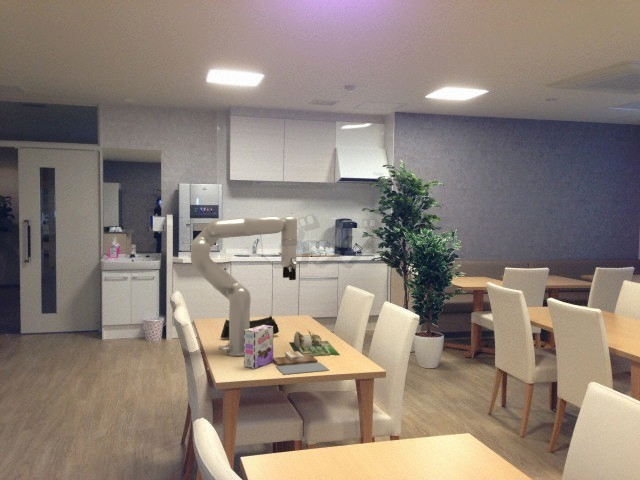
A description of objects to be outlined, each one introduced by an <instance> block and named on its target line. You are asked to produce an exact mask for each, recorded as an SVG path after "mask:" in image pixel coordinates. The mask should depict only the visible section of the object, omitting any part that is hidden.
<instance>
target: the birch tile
mask: <svg viewBox="0 0 640 480" xmlns="http://www.w3.org/2000/svg"><path fill="white" fill-rule="evenodd" d="M284 357H286V358H287V359H288V360H289V361H291V362H295V361H304V356H303V355H302V354H301V353H299V352H298V351H295V352H294V351H285V352H284Z"/></svg>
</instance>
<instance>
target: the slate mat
mask: <svg viewBox="0 0 640 480" xmlns="http://www.w3.org/2000/svg"><path fill="white" fill-rule="evenodd" d="M275 368H276V369H277V370H278V371H279V372H280V373H281V374H282V375H284V376H286V375H297V374H309V373H317V372H318V373H319V372H330V369H329V368H328V367H327V366H325V365H324V364H322V363H321V362H320V361H318V363H308V364H296V365H285V366H277V365H275Z"/></svg>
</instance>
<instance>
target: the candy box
mask: <svg viewBox="0 0 640 480" xmlns="http://www.w3.org/2000/svg"><path fill="white" fill-rule="evenodd" d="M273 358H274V335H273V326H268V325H261V326H258V327H254V328H250V329H246V330H244V356H243V367H244V368H248V369H251V370H256V369H259V368H261V367H265V366H267V365H269V364H273V363H274V362H273Z"/></svg>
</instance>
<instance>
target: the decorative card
mask: <svg viewBox="0 0 640 480" xmlns="http://www.w3.org/2000/svg"><path fill="white" fill-rule="evenodd" d="M307 331H308V335H307V334H302V333H301V332H299V331H297V330H295V334H294V337H293V341H290V342H288V343H289V345H290V347H291V348H292V350H293V352H295V351H298V352H299V353H301V354H302V355H311V356H313V357H329V356H330V355H334V356H340V355H341V354H340V353H339V352H338V350H337V349H335V347H334V346H332V344H331V343H330V342H329V341H328V340H322V338H321V336H319V335H318V334H315V333H312V332H311V331H309V330H308V329H307ZM311 333H312V334H311Z"/></svg>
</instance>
